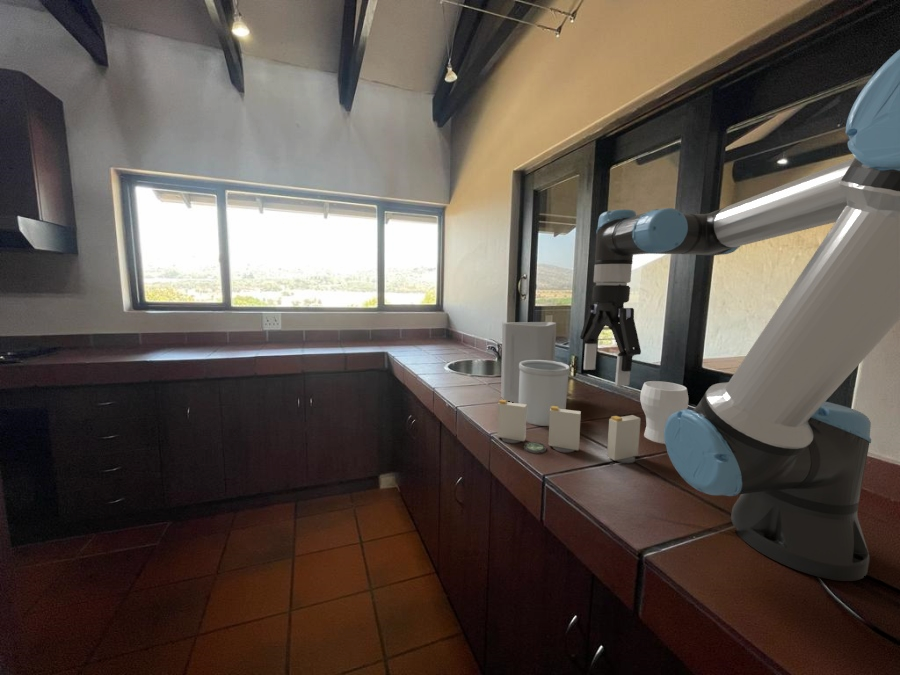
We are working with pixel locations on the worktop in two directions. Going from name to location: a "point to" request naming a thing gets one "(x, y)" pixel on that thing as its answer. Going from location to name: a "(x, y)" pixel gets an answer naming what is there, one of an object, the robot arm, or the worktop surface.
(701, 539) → the worktop surface
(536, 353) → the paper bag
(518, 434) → the cream slab
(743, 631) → the worktop surface
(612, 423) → the slab with yellow pad
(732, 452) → the robot arm
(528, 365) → the utensil holder
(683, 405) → the cup
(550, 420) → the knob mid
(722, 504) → the worktop surface
